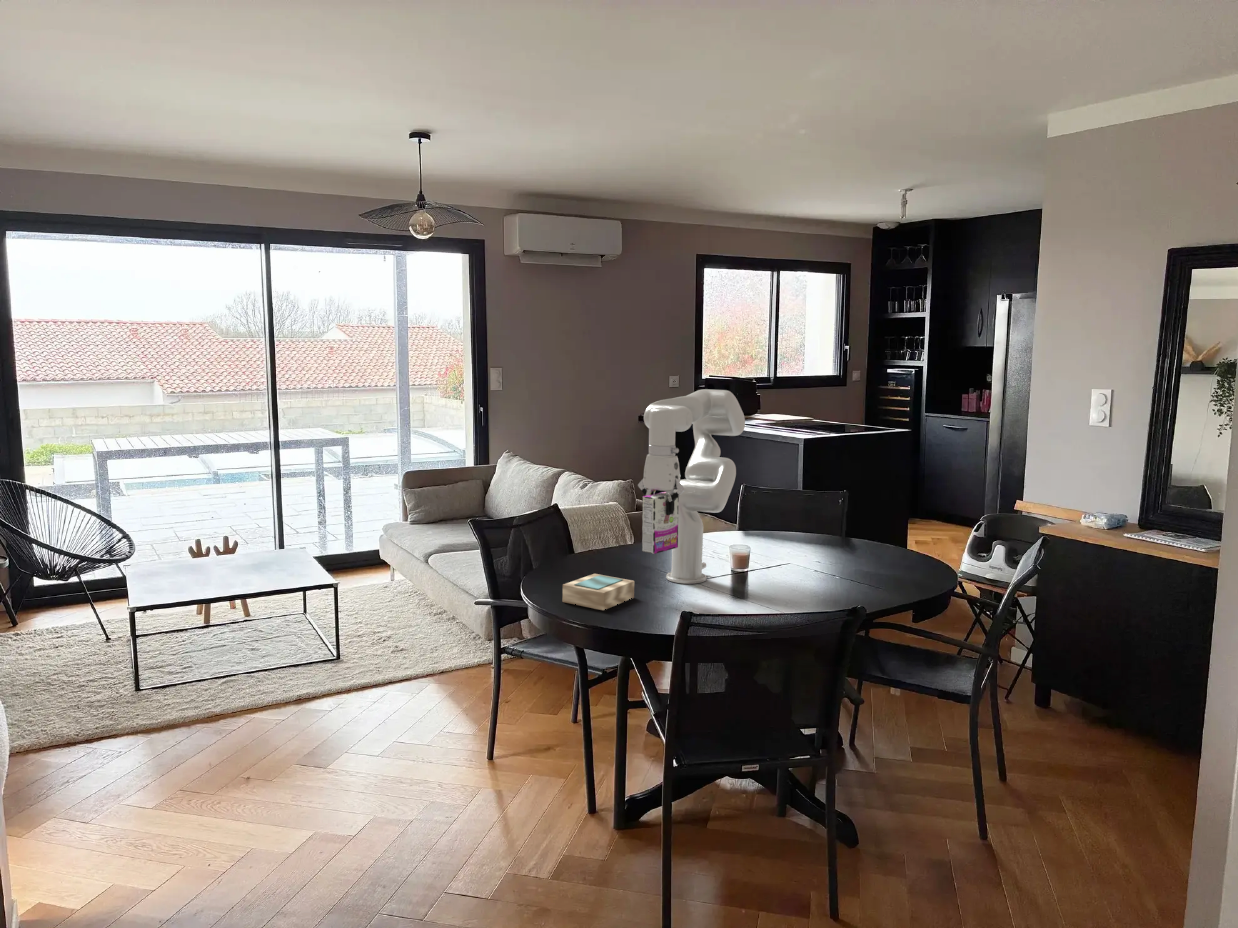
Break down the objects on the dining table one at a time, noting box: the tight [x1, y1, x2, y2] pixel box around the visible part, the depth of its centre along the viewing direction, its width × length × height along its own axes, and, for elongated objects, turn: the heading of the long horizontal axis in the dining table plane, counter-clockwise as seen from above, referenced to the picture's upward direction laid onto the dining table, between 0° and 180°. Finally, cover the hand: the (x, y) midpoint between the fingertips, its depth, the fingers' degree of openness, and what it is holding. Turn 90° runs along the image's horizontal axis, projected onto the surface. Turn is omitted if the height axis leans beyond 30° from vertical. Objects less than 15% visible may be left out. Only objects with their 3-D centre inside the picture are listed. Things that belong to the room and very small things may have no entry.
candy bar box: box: [641, 491, 679, 555], centre depth 267 cm, size 11×5×16 cm, turn 138°
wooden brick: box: [561, 573, 635, 611], centre depth 264 cm, size 16×14×5 cm
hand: (660, 512), depth 266 cm, fingers closed on candy bar box, 5 cm apart
